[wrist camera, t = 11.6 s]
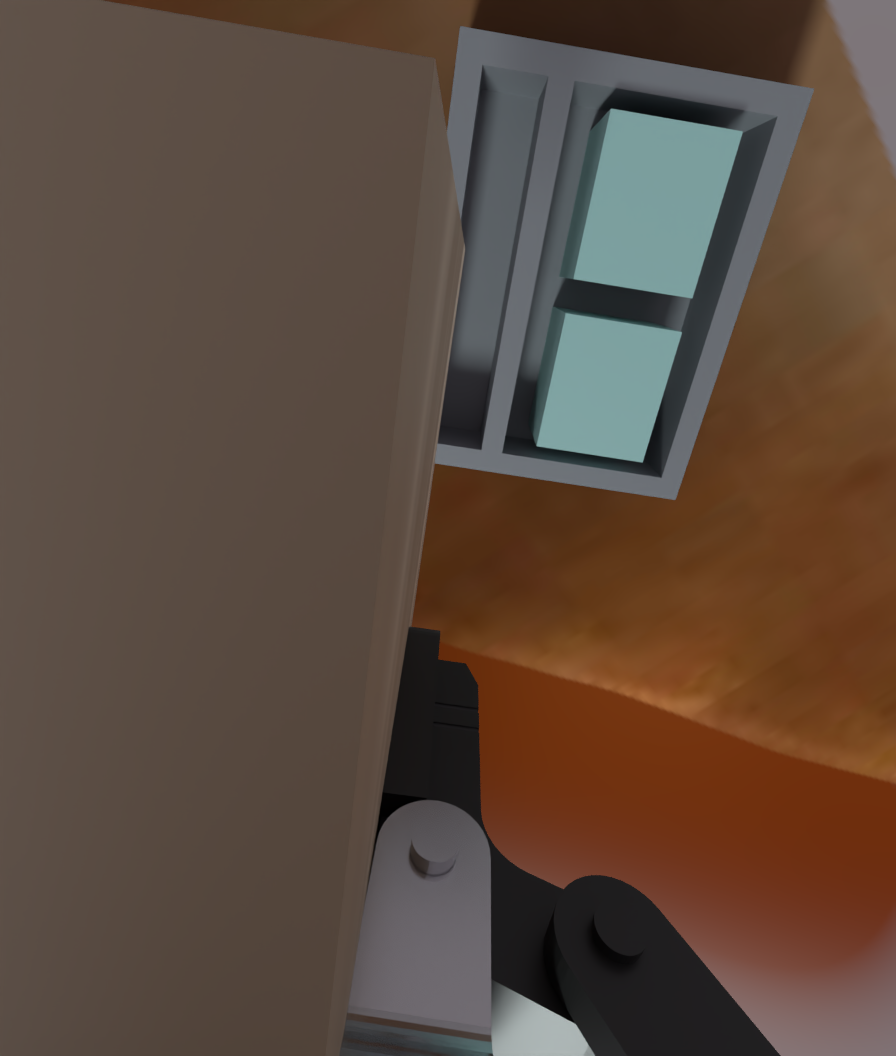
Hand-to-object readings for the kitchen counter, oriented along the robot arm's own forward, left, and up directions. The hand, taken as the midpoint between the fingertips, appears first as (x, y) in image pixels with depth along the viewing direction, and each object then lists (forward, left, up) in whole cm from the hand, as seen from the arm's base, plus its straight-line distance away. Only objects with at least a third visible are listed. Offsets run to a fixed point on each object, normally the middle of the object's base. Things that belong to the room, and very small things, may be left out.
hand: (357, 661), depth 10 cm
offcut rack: (+7, +6, -29) cm, 30 cm away
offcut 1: (+9, +10, -28) cm, 31 cm away
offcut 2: (+9, +2, -28) cm, 29 cm away
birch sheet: (0, 0, -7) cm, 7 cm away
